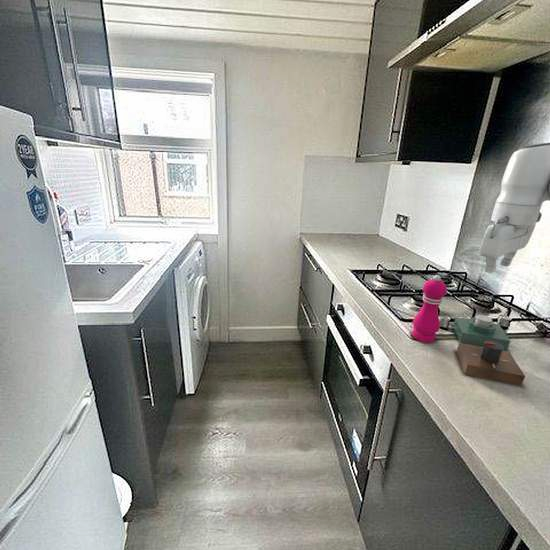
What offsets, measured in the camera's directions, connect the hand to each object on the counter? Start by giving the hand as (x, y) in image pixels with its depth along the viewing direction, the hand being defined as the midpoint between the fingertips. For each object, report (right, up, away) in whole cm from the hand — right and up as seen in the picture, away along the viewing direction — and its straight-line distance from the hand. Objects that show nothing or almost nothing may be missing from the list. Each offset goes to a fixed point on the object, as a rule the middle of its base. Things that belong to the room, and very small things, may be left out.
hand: (497, 268), depth 79 cm
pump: (+4, -16, +12) cm, 20 cm away
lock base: (-3, -26, 0) cm, 26 cm away
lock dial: (-3, -23, -1) cm, 23 cm away
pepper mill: (-13, -21, +13) cm, 27 cm away
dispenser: (+4, -21, +13) cm, 25 cm away
